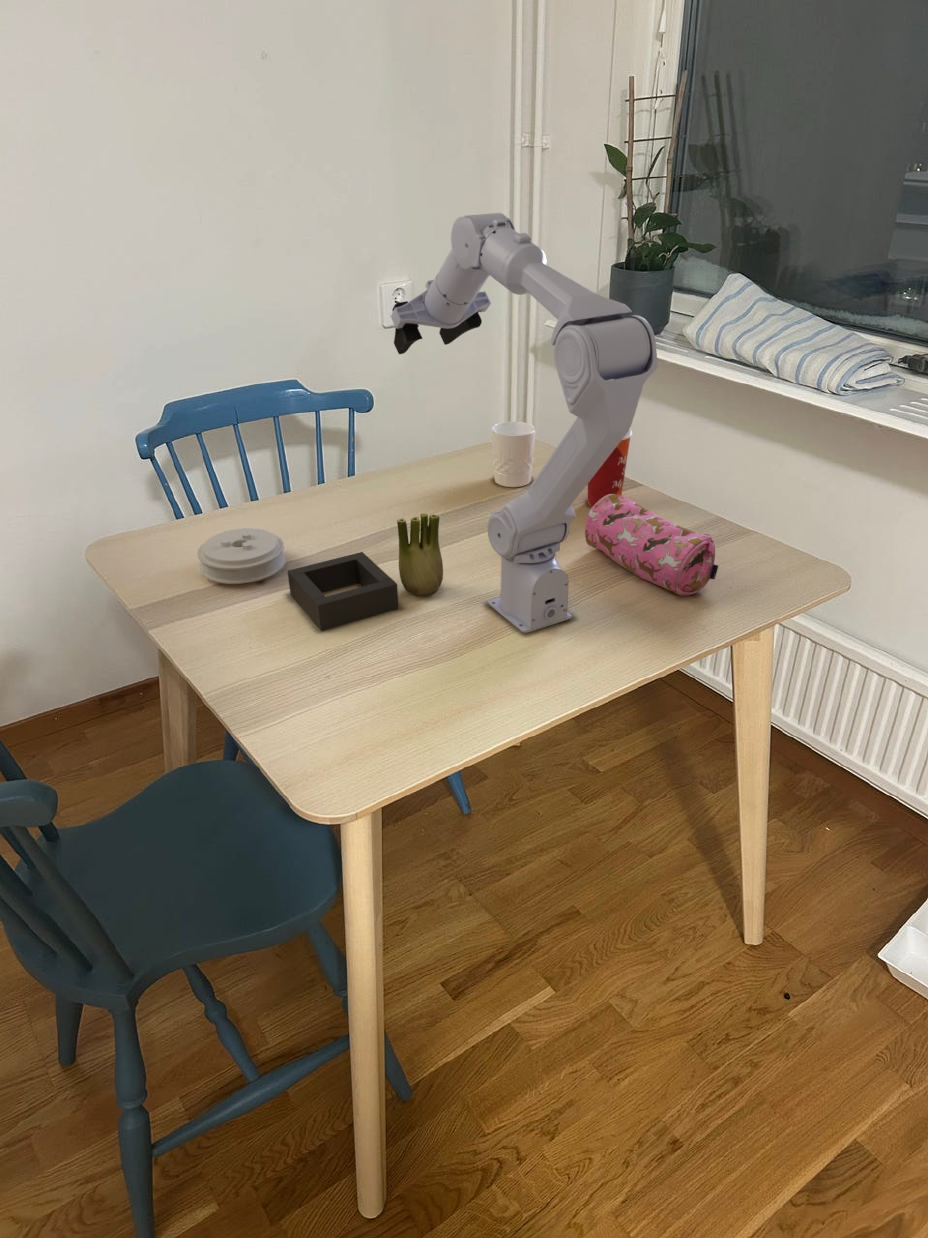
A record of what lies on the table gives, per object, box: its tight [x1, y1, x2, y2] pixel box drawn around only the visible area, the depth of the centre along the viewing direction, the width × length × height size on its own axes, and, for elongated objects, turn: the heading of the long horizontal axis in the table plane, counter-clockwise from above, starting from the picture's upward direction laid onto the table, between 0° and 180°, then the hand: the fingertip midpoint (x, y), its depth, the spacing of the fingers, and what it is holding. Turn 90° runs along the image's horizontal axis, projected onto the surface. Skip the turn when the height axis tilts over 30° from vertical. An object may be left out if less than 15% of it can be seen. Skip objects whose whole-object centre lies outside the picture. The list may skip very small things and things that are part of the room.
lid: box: [196, 527, 287, 585], centre depth 133 cm, size 13×13×5 cm
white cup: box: [491, 421, 536, 488], centre depth 162 cm, size 8×8×10 cm
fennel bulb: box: [396, 513, 444, 597], centre depth 125 cm, size 6×5×12 cm
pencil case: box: [584, 494, 719, 597], centre depth 131 cm, size 21×9×9 cm, turn 34°
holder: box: [287, 551, 399, 632], centre depth 125 cm, size 12×12×4 cm
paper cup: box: [587, 426, 633, 508], centre depth 151 cm, size 8×8×14 cm
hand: (421, 343), depth 128 cm, fingers open, 7 cm apart
